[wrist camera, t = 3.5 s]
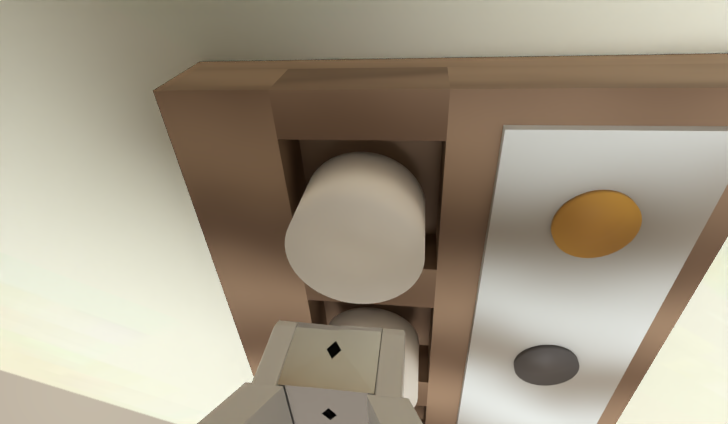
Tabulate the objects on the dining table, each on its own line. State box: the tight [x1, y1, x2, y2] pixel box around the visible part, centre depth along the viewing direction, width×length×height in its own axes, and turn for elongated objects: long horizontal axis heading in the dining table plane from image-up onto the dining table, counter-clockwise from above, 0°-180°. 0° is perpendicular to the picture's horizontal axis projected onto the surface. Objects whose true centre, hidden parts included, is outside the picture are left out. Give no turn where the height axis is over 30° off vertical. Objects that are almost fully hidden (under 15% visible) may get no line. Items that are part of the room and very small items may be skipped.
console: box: [153, 54, 728, 424], centre depth 18 cm, size 22×17×4 cm
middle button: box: [329, 307, 419, 407], centre depth 17 cm, size 4×4×2 cm
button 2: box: [285, 152, 425, 304], centre depth 13 cm, size 4×4×2 cm
